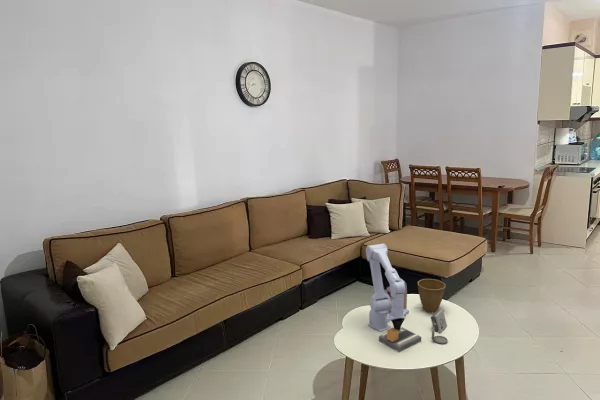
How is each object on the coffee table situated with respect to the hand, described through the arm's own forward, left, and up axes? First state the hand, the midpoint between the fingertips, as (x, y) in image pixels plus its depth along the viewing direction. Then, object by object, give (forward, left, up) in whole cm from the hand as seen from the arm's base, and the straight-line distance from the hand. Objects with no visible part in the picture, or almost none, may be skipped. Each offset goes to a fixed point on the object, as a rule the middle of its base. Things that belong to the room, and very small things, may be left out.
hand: (396, 331), depth 210 cm
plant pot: (-12, +41, -6) cm, 43 cm away
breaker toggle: (0, -3, -3) cm, 4 cm away
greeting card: (-20, +22, -6) cm, 30 cm away
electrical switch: (+4, +27, -6) cm, 28 cm away
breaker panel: (0, +2, -6) cm, 6 cm away
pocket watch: (+11, +17, -6) cm, 21 cm away
